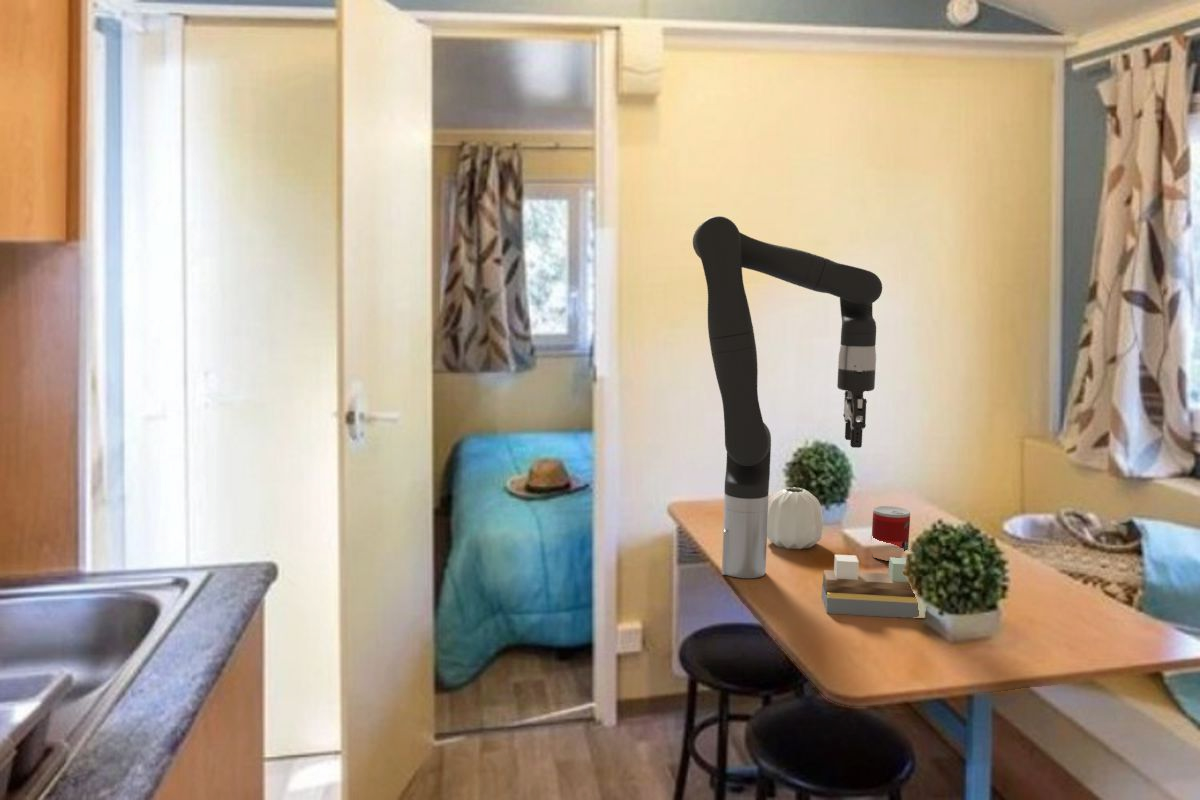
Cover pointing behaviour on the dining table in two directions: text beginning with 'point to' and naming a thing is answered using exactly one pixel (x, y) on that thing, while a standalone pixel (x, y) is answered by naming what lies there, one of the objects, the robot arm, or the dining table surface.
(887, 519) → the canned food
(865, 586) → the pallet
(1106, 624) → the dining table surface
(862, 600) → the block
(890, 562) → the block
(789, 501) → the vase
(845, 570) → the block
